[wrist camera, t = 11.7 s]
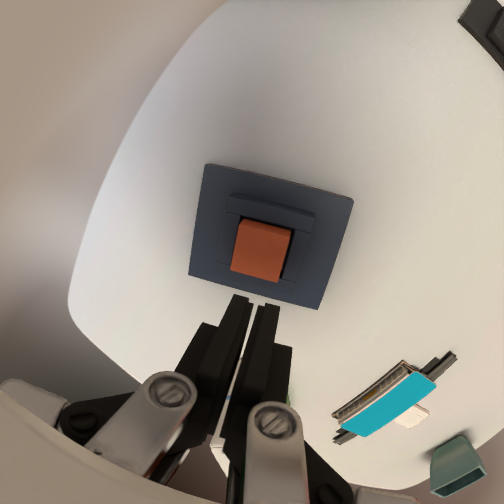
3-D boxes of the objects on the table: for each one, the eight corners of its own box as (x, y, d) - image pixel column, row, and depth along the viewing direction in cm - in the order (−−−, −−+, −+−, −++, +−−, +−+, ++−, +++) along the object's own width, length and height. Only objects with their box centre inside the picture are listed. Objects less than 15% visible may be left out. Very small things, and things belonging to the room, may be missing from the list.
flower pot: (421, 451, 32) (429, 493, 24) (466, 424, 29) (480, 465, 21) (436, 462, 33) (443, 498, 25) (476, 438, 30) (487, 474, 22)
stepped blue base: (192, 269, 27) (180, 283, 24) (209, 163, 23) (196, 165, 20) (317, 303, 26) (318, 321, 23) (351, 198, 22) (358, 205, 19)
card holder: (365, 451, 33) (366, 459, 32) (309, 428, 32) (308, 438, 31) (474, 372, 26) (478, 380, 24) (430, 333, 25) (435, 343, 23)
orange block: (235, 261, 23) (229, 270, 21) (244, 218, 22) (239, 224, 20) (279, 273, 23) (277, 283, 21) (291, 230, 21) (290, 237, 20)
